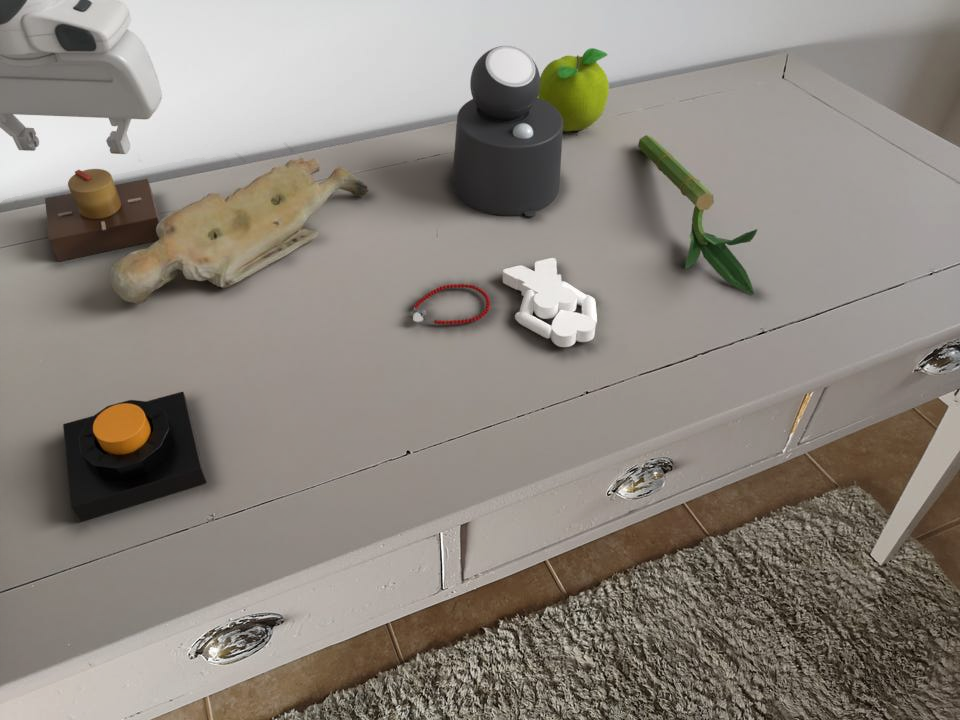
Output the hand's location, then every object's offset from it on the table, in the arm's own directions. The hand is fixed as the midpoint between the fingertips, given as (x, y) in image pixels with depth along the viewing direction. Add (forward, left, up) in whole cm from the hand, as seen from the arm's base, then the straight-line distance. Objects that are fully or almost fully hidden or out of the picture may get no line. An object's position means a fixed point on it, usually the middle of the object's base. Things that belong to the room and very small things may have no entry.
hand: (75, 149), depth 80 cm
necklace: (+31, -26, -10) cm, 42 cm away
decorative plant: (+63, -21, -10) cm, 67 cm away
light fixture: (+46, -8, -10) cm, 48 cm away
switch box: (-1, -34, -10) cm, 36 cm away
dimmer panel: (0, 0, -10) cm, 10 cm away
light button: (-1, -34, -7) cm, 35 cm away
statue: (+15, -9, -10) cm, 20 cm away
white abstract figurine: (+41, -30, -10) cm, 52 cm away
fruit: (+60, +2, -10) cm, 61 cm away
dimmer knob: (0, 0, -7) cm, 7 cm away
